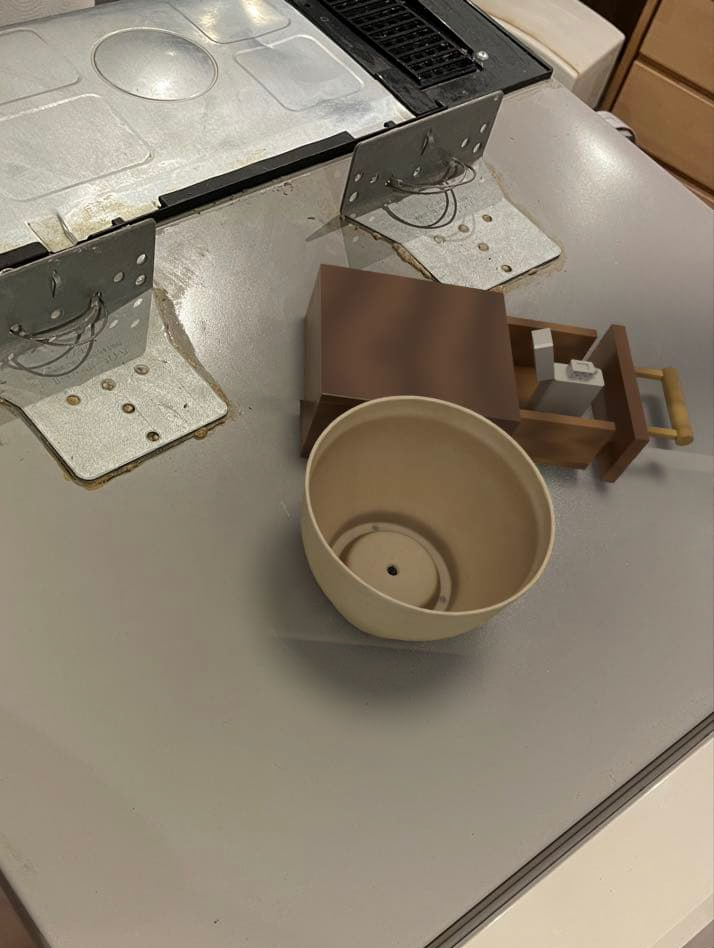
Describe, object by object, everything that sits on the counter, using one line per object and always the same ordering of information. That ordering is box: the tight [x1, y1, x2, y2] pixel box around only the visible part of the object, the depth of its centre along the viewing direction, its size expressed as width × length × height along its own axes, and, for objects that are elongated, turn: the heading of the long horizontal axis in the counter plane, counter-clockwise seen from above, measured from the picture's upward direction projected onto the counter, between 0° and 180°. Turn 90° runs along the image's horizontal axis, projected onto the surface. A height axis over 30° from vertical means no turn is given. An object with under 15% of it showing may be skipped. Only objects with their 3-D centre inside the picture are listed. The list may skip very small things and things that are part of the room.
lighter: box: [530, 328, 604, 418], centre depth 76 cm, size 7×2×8 cm, turn 91°
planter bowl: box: [300, 396, 556, 642], centre depth 66 cm, size 16×16×11 cm
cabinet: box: [299, 263, 521, 459], centre depth 76 cm, size 15×13×8 cm
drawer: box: [507, 315, 695, 484], centre depth 78 cm, size 19×11×6 cm, turn 90°
